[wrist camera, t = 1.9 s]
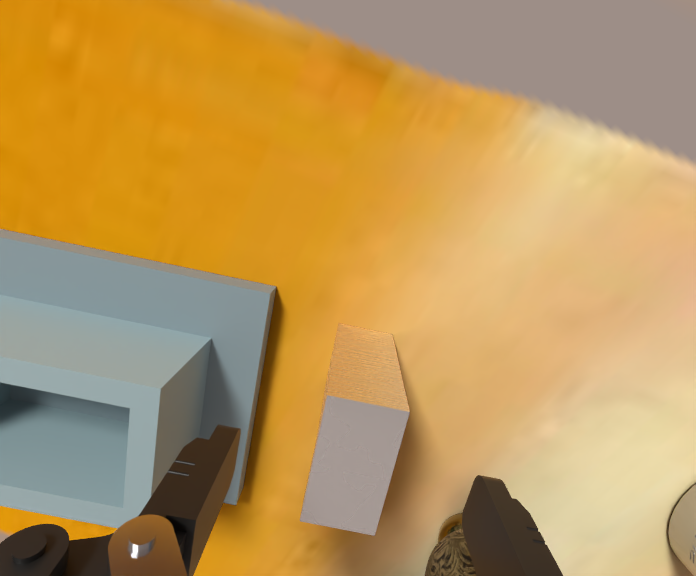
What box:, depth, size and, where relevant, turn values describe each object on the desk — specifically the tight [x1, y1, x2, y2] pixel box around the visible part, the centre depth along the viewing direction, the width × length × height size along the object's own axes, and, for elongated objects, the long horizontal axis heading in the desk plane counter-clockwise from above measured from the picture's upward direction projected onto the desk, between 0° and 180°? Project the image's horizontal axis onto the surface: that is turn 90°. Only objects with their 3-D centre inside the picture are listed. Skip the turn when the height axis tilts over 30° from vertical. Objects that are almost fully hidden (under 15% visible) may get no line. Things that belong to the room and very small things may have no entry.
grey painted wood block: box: [300, 323, 410, 536], centre depth 19 cm, size 3×6×8 cm, turn 168°
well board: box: [0, 229, 276, 528], centre depth 20 cm, size 16×14×7 cm
